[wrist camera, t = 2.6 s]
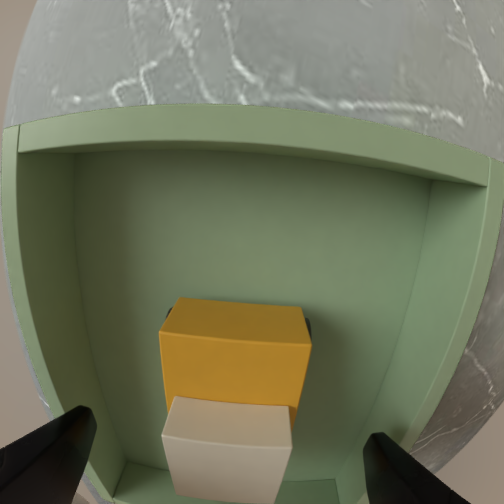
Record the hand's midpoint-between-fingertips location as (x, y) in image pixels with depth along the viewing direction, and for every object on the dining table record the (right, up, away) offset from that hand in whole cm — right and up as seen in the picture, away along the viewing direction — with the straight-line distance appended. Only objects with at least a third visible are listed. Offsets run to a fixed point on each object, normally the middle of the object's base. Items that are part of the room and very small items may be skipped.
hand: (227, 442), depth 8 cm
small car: (0, +1, +3) cm, 3 cm away
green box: (0, +1, +4) cm, 4 cm away
